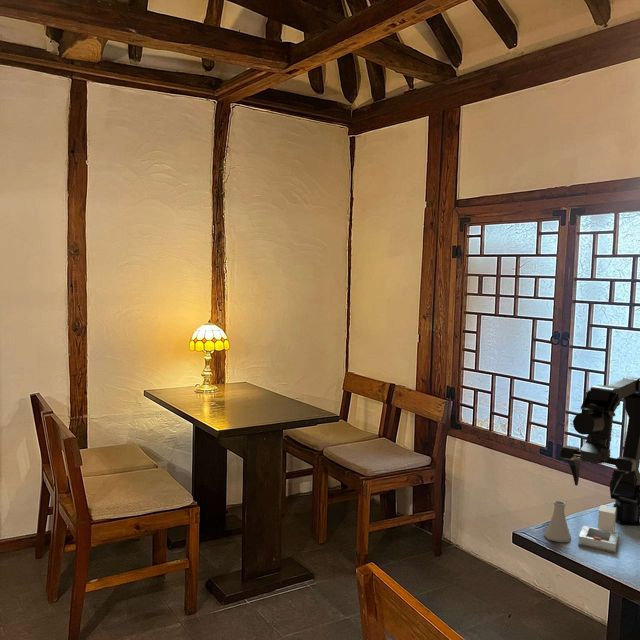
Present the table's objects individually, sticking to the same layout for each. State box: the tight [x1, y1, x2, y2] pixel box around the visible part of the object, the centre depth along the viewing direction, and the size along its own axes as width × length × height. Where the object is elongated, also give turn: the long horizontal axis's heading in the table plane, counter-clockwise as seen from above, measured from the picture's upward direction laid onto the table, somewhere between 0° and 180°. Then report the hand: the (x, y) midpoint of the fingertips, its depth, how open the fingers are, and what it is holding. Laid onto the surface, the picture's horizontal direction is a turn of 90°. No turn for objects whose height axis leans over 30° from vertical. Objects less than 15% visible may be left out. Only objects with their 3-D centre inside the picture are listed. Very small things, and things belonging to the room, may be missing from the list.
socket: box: [577, 524, 619, 554], centre depth 174 cm, size 9×9×3 cm
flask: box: [543, 500, 572, 543], centre depth 177 cm, size 7×7×10 cm
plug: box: [597, 504, 616, 532], centre depth 182 cm, size 6×4×7 cm
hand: (593, 489), depth 175 cm, fingers open, 9 cm apart
